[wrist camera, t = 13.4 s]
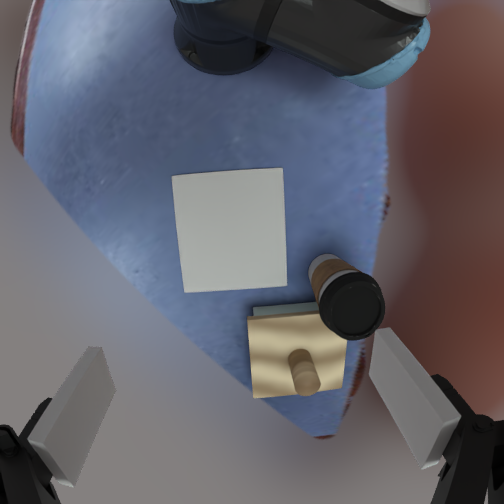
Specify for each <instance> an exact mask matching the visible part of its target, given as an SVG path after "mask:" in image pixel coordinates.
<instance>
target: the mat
mask: <svg viewBox="0 0 504 504" xmlns="http://www.w3.org/2000/svg"><path fill="white" fill-rule="evenodd" d="M172 186H173V197H174V208H175V218H176V227H177V236H178V245H179V253H180V261H181V269H182V277H183V284H184V291H185V293H187V292H205V291H222V290H237V289H252V288H266V287H279V286H287V264H286V232H285V206H284V183H283V168H267V169H248V170H233V171H219V172H207V173H196V174H185V175H175V176H172Z"/></svg>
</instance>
